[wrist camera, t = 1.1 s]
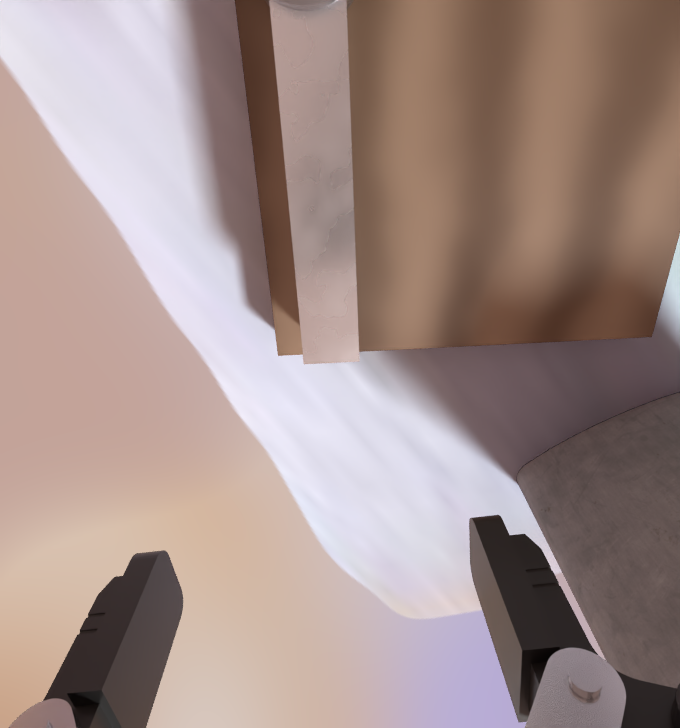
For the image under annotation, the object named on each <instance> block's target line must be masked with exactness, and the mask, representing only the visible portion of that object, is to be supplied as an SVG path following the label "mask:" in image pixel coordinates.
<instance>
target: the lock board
mask: <svg viewBox="0 0 680 728" xmlns="http://www.w3.org/2000/svg"><path fill="white" fill-rule="evenodd" d="M235 5H236V14H237V22H238V30H239V38H240V46H241V55H242V63H243V71H244V79H245V88H246V96H247V104H248V112H249V120H250V129H251V137H252V145H253V153H254V162H255V170H256V178H257V186H258V194H259V203H260V211H261V219H262V227H263V236H264V244H265V252H266V260H267V268H268V277H269V285H270V293H271V301H272V309H273V318H274V326H275V334H276V342H277V351H278V356H282V355H302V354H303V350H302V340H301V329H300V319H299V308H298V298H297V287H296V277H295V266H294V256H293V245H292V235H291V224H290V214H289V203H288V193H287V182H286V172H285V161H284V151H283V140H282V130H281V119H280V109H279V98H278V88H277V77H276V67H275V56H274V46H273V35H272V25H271V14H270V7H269V6H268V4H267V3H266V1H265V0H235ZM347 29H348V57H349V85H350V113H351V141H352V168H353V196H354V224H355V252H356V280H357V308H358V336H359V352H361V351H381V350H401V349H421V348H441V347H461V346H481V345H501V344H521V343H541V342H561V341H581V340H601V339H621V338H641V337H652V334H653V331H654V327H655V323H656V320H657V316H658V312H659V308H660V305H661V301H662V297H663V293H664V290H665V286H666V282H667V279H668V275H669V271H670V267H671V264H672V260H673V256H674V253H675V249H676V245H677V241H678V238H679V234H680V0H354V1H353V2H352V4H351V5H350V7H349V8H348V9H347Z"/></svg>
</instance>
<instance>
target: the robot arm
mask: <svg viewBox="0 0 680 728" xmlns="http://www.w3.org/2000/svg"><path fill="white" fill-rule="evenodd" d="M469 529H470V565H471V572H472V577H473V581H474V585H475V588H476V592H477V595H478V598H479V601H480V604H481V607H482V610H483V613H484V616H485V619H486V623H487V626H488V629H489V632H490V635H491V638H492V641H493V644H494V647H495V650H496V653H497V656H498V660H499V662H500V666H501V669H502V672H503V675H504V678H505V681H506V684H507V687H508V691H509V694H510V697H511V700H512V703H513V706H514V709H515V712H516V715H517V718H518V721H519V722H527V723H526V726H525V728H680V683H679V685H678V687H677V688H673V687H668V686H664V685H659V684H655V683H650V682H646V681H641V680H638V679H634V678H631V677H629V676H626V675H624V674H622V673H620V672H619V671H617V670H615V669H614V668H613V667H612V666H611V665H610V664H609V663H608V662H607V661H606V660H604V659H602V658H601V657H600V656H598V654H597V653H596V652H595V650H594V649H593V648H592V646H591V644H590V643H589V641H588V639H587V637H586V635H585V633H584V631H583V629H582V627H581V625H580V623H579V621H578V619H577V617H576V616H575V614H574V612H573V610H572V608H571V606H570V604H569V602H568V600H567V598H566V596H565V594H564V593H563V590H562V589H561V587H560V586H559V584H558V581H557V579H556V577H555V575H554V573H553V571H551V567H550V565H549V563H548V561H547V559H546V557H545V555H544V554H543V552H542V550H541V548H540V547H539V546H537V545H536V544H535V543H534V542H533V541H532V540H531V539H530V538H529V537H527V536H526V535H525V534H519V535H509V533H508V531H507V529H506V527H505V524H504V522H503V520H502V518H501V517H500V516H499V515H494V516H485V517H475V518H470V521H469ZM182 609H183V595H182V590H181V587H180V584H179V582H178V579H177V576H176V574H175V571H174V568H173V566H172V563H171V560H170V557H169V555H168V553H167V552H166V551H155V552H146V553H137V554H135V555H134V556H133V557H132V559H131V561H130V563H129V565H128V567H127V569H126V571H125V573H124V575H123V576H119V577H114V578H113V579H112V580H111V581H110V582H109V584H108V585H107V586H106V587H105V588H104V589H103V590H102V591H101V592H100V593H99V594H98V596H97V598H96V600H95V602H94V604H93V606H92V608H91V610H90V612H89V613H88V618H86V619H85V621H84V623H83V625H82V627H81V629H80V634H79V635H77V637H76V639H75V641H74V643H73V644H72V646H71V648H70V651H69V652H68V654H67V657H66V658H65V660H64V662H63V664H62V666H61V668H60V670H59V672H58V674H57V675H56V678H55V679H54V681H53V683H52V685H51V687H50V689H49V691H48V693H47V695H46V697H45V699H44V700H43V701H42V702H40V703H38V704H36V705H34V706H32V707H30V708H29V709H28V710H26V711H25V712H24V713H22V715H20V716H19V717H18V718H17V719H16V720H15V721H14V722H13V723H12V724H11V726H10V727H9V728H146V726H147V722H148V719H149V716H150V713H151V710H152V707H153V703H154V700H155V697H156V694H157V691H158V688H159V685H160V681H161V678H162V675H163V672H164V669H165V665H166V662H167V659H168V656H169V653H170V650H171V647H172V643H173V640H174V637H175V634H176V630H177V628H178V625H179V621H180V618H181V614H182Z"/></svg>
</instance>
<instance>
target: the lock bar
mask: <svg viewBox="0 0 680 728" xmlns="http://www.w3.org/2000/svg"><path fill="white" fill-rule="evenodd" d="M265 1H266V3H267V4H268V6H269V7H270V14H271V25H272V35H273V46H274V56H275V67H276V77H277V88H278V98H279V109H280V119H281V130H282V140H283V151H284V161H285V172H286V182H287V193H288V203H289V214H290V224H291V235H292V245H293V256H294V266H295V277H296V287H297V298H298V308H299V319H300V329H301V340H302V350H303V361H304V364H317V363H337V362H357V361H359V336H358V308H357V280H356V252H355V224H354V196H353V168H352V141H351V113H350V85H349V57H348V29H347V9H348V8H349V7H350V5H351V4H352V2H353V1H354V0H265Z"/></svg>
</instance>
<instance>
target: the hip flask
mask: <svg viewBox="0 0 680 728" xmlns="http://www.w3.org/2000/svg"><path fill="white" fill-rule="evenodd" d="M517 482H518V485H519V487H520V489H521V491H522V493H523V495H524V497H525V499H526V501H527V503H528V505H529V507H530V509H531V511H532V513H533V515H534V517H535V519H536V521H537V523H538V525H539V527H540V529H541V531H542V533H543V535H544V537H545V539H546V541H547V543H548V545H549V547H550V549H551V551H552V553H553V555H554V557H555V559H556V561H557V563H558V565H559V567H560V569H561V571H562V573H563V575H564V577H565V578H566V581H567V583H568V585H569V587H570V589H571V591H572V593H573V595H574V597H575V598H576V601H577V602H578V604H579V607H580V608H581V611H582V613H583V614H584V616H585V618H586V620H587V623H588V624H589V627H590V628H591V631H592V633H593V635H594V637H595V639H596V641H597V643H598V645H599V646H600V649H601V650H602V653H603V655H604V657H605V659H606V661H607V662H608V663H609V664H610V665H611V666H612V667H613V668H614V669H615V670H617V671H619V672H620V673H622V674H624V675H626V676H629V677H631V678H634V679H638V680H641V681H646V682H650V683H655V684H659V685H664V686H668V687H673V688H677V687H678V685H679V683H680V392H678V393H675V394H672V395H669V396H666V397H663V398H660V399H658V400H655V401H652V402H649V403H647V404H644V405H641V406H639V407H636V408H634V409H631V410H629V411H627V412H624V413H622V414H619V415H617V416H615V417H613V418H610V419H608V420H606V421H604V422H602V423H600V424H597V425H595V426H593V427H591V428H589V429H587V430H585V431H583V432H581V433H579V434H577V435H575V436H573V437H571V438H569V439H568V440H566V441H564V442H562V443H560V444H558V445H557V446H555V447H553V448H551V449H550V450H548V451H546V452H545V453H543V454H542V455H540V456H538V457H537V458H535V459H534V460H532V461H531V462H529V463H528V464H526V465H525V466H523V467H522V468H521V469H520V471H519V472H518V475H517Z"/></svg>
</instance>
